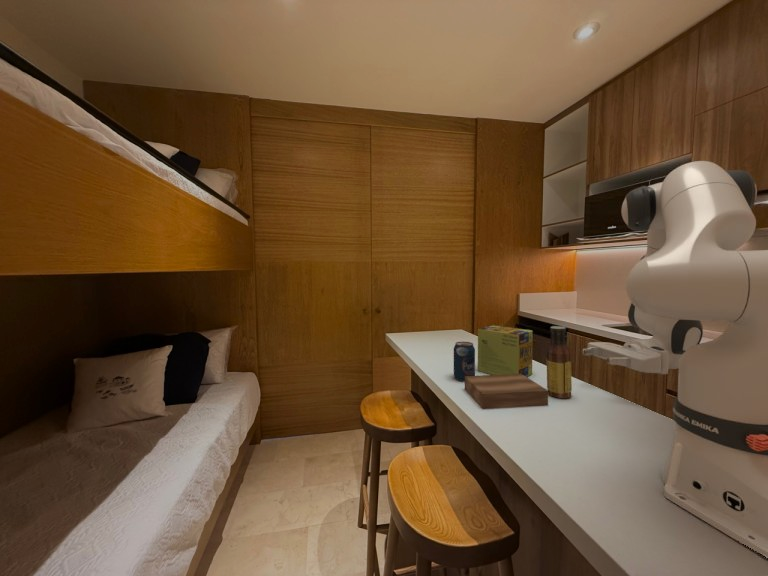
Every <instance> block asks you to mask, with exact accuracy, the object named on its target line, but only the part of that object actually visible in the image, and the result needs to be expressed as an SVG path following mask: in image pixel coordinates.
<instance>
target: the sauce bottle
mask: <svg viewBox="0 0 768 576" xmlns="http://www.w3.org/2000/svg"><path fill="white" fill-rule="evenodd" d="M549 332H550V343H549V345H548V347H547V350H546V357H545V359H546V388H547V389H546V390H548V395H550V396H551V397H554V398H557V399H568V398H571V397H572V391H573V390H572V389H573V388H572V385H573V383H572V382H573V381H572V359H571V356H572V355H571V352H570V351H571V350H570V348H569V346H568V344H567V340H566V332H567V327H566V326H561V325H559V326H558V325H552V326H550V328H549Z"/></svg>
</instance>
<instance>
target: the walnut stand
mask: <svg viewBox="0 0 768 576" xmlns="http://www.w3.org/2000/svg"><path fill="white" fill-rule="evenodd" d="M464 390H465V391H466V393H468V394H469V395H470V397H471V398H472V399H473V400H474V401H475V402H476V404H478V405H479V407H480V408H482V409H483V410H485V409H486V410H487V409H506V408H522V407H523V408H524V407H540V406H541V407H542V406H548V405H549V393H548V389H546V388H545V387H543V386H541V385H540V384H538V383H536V382H535V381H534V380H532V379H530V378H529V377H526V376H524V375H522V374H504V375H491V374H487V375H485V374H484V375H483V374H482V375H475V376H465V382H464Z"/></svg>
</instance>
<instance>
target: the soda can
mask: <svg viewBox="0 0 768 576" xmlns="http://www.w3.org/2000/svg"><path fill="white" fill-rule="evenodd" d="M465 376H476V348H475V347H474V343H473V342H470V341H456V342H455V345H454V347H453V377H454V379H456V381H458V380H459V382H463V381H464V383H465Z"/></svg>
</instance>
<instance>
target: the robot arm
mask: <svg viewBox="0 0 768 576" xmlns="http://www.w3.org/2000/svg"><path fill="white" fill-rule="evenodd" d="M754 180H755V179H754V178H753V176H752V175H751V174H750V173H748V171H747V170H746V171H745V170H742V169H741V170H739V169H736V170H735V169H734V170H733V169H732V170H731V169H730V170H729V169H728V170H725V169H724V168H722V167H721V166H719V165H718V164H716V163H715V162H713V161H707V160H697V161H696V160H695V161H692V162H687V163H684V164H681V165H680V166H677V167H676V168H675V169H673V170H672V171H671V172H669V173H668V174H667V176H666V177H665V178H664V180H663V181H662V182H657V183H654V184H650V185H648V186H647V185H642V186H640V187H636V188H634V189H632V190H630V191H629V192H628V193H626V195H625V197H624V200H623V202H622V205H621V211H620V212H621V217H622V220H623V222H624V223H625V225H626V226H627V228H628V229H630V230H632V231H636V232H647V235H646V239H647V240H646V241H647V242H646V253H645V254H644V255H643V256H642V257H641V258H640V260H639V261H638V262H636V264H634V266H633V267H632V268H631V269H630V271H629V273H628V275H627V279H626V282H625V283H626V284H625V285H626V286H625V287H626V293H627V296H628V299H629V300H630V302H631V303H630V306H629V308H628V311H627V319H628V322H629V324H631V326H632V327H634V328H636V329H639V330H641V331H643V332H646V333H648V334H650V335H652V336H651V338H646V339H645V338H643V339H641V338H639V339H637V338H636V339H629V340H627V341H626V342H625V343H624V344H623V345H621V344H617V343H614V342H613V343H612V342H608V341H607V342H605V341H603V342H601V341H600V342H599V341H595V342H594V341H590V342H588V343H587V347H586V348H583V349H582V355H584V356H588V357H589V356H590V357H591V356H594V357H596V358H600V359H603V360H606V364H608V365H611V366H622V367H625V368H628V369H632V370H634V371H637V372H641V373H644V374H645V373H646V374H658V375H667V374H668V373H669V370H674V369H678V375H677V376H678V378H677V380H678V381H677V382H678V383H677V396H676V397H675V398H674V400H673V401H674V402H673V407H672V412H673V413H672V414H673V415H672V419H673V421H674V422H675V427H674V433H673V438H672V444H671V449H670V452H669V456H668V459H667V462H666V464H665V466H664V467H663V470H662V472H661V478H662V482H663V483H664V487H663V491H662V494H663V496H664V497H665V498H666V499H667V500H669V501H670V502H672V503H674V504H676V505H678V506H679V507H681V508H682V509H684V510H685V511H687V512H689V513H690V514H692V515H694V516H696V517H697V518H698V519H701V520H702V521H704V522H705V523H707V524H708V525H710V526H712V527H713V528H715V529H717V530H719V531H720V532H721V533H724V534H725V535H727V536H729V537H730V538H732V539H734V540H736V542H738V541H739V542H738V543H740V544H742V545H743V544H744V545H743V546H745V545H746V547H747V546H748V547H749V549H750V548H751V549H750V550H752V549H753V550H755V551H757V552H759V553H762V554H764V555H766V556H767V557H768V249H762V250H761V249H760V250H759V249H757V250H755V249H753V250H738V249H739V248H741V247H742V246H743V245H744V244H746V243H747V242H748V241H749V240H750V239H751V238H752V236H754V232H755V231H756V226H757V219H756V216H755V215H754V213H753V211H752V209H753V207H754V206H755V201H756V199H757V194H758V190H757V183H756V182H755V181H754ZM702 321H703V322H704V321H705V322H707V321H709V322H727V323H728V326H727V327H726V328H725V330H724V332H723V333H722V334H720V335H719V336H718V337H716V338H714V339H711V340H709V341H705V342H701V341H702V339H703V333H704V331H703V330H704V328H703V324H702ZM748 547H747V548H748ZM753 550H752V551H753ZM755 551H754V552H755ZM757 552H756V553H757Z"/></svg>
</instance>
